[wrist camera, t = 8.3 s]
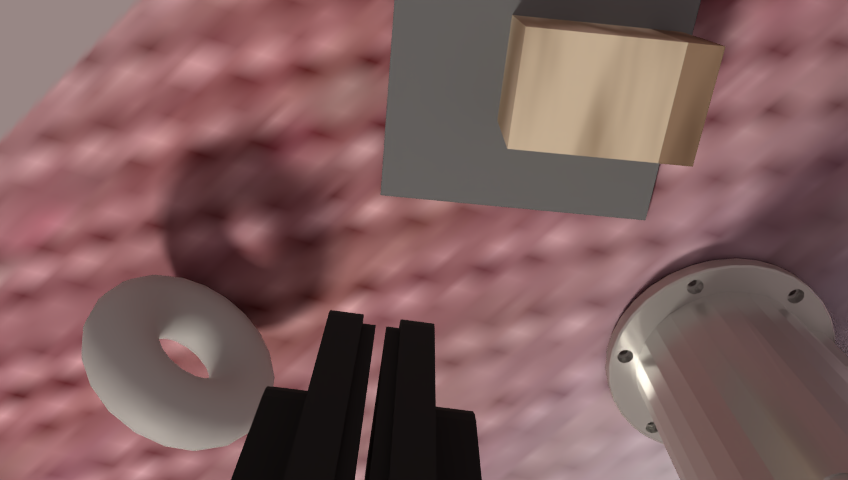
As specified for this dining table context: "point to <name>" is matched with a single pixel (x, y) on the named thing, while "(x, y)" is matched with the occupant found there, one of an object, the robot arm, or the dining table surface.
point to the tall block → (606, 90)
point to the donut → (163, 379)
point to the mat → (479, 105)
